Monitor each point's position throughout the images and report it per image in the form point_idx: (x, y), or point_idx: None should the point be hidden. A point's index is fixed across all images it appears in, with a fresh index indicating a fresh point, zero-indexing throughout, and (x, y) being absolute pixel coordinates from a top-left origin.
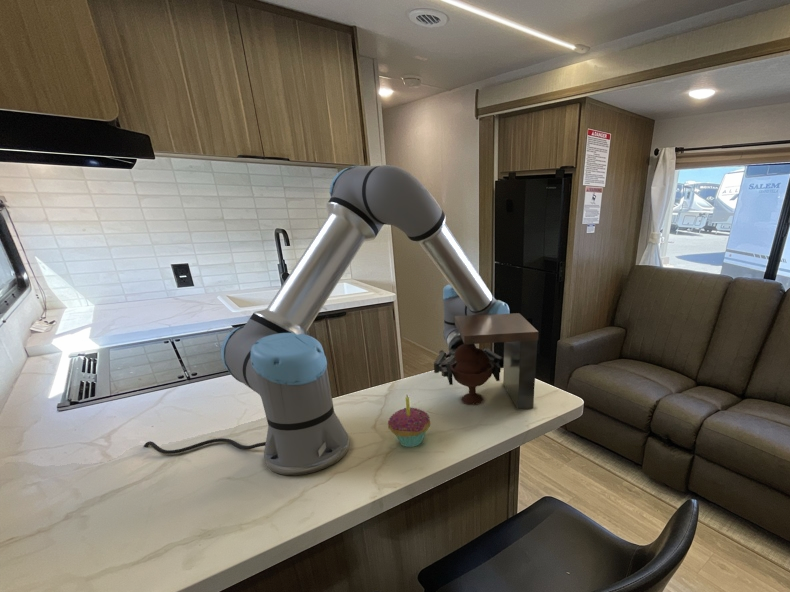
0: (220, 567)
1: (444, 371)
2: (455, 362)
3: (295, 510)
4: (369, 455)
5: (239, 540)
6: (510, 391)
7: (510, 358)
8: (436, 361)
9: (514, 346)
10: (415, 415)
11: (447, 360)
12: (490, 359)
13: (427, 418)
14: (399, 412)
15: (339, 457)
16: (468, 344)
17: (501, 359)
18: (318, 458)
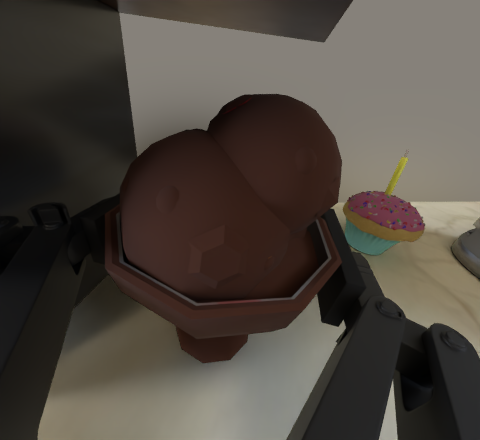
0: (445, 202)
1: (356, 253)
2: (304, 285)
3: (436, 214)
4: (413, 242)
5: (455, 210)
6: (92, 272)
7: (32, 163)
8: (475, 384)
9: (63, 63)
10: (374, 192)
11: (372, 362)
12: (62, 241)
13: (351, 198)
14: (409, 205)
15: (454, 244)
16: (262, 96)
17: (12, 218)
18: (474, 229)
